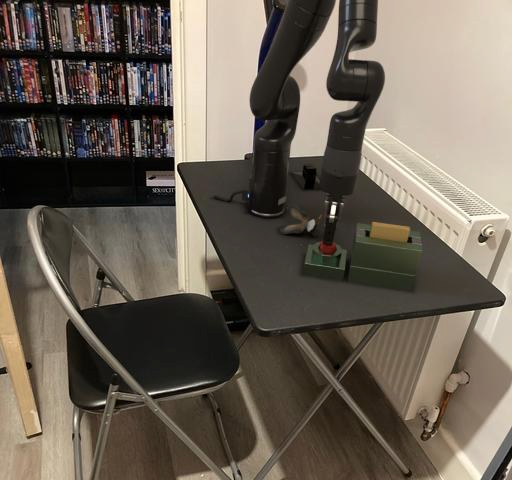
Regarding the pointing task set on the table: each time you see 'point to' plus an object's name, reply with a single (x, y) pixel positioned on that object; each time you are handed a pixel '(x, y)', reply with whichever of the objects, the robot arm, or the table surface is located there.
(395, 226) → the toast
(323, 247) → the button
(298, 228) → the eagle figurine
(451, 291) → the table surface
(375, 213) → the table surface
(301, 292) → the table surface
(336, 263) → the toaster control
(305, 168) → the black block on base
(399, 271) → the toaster
